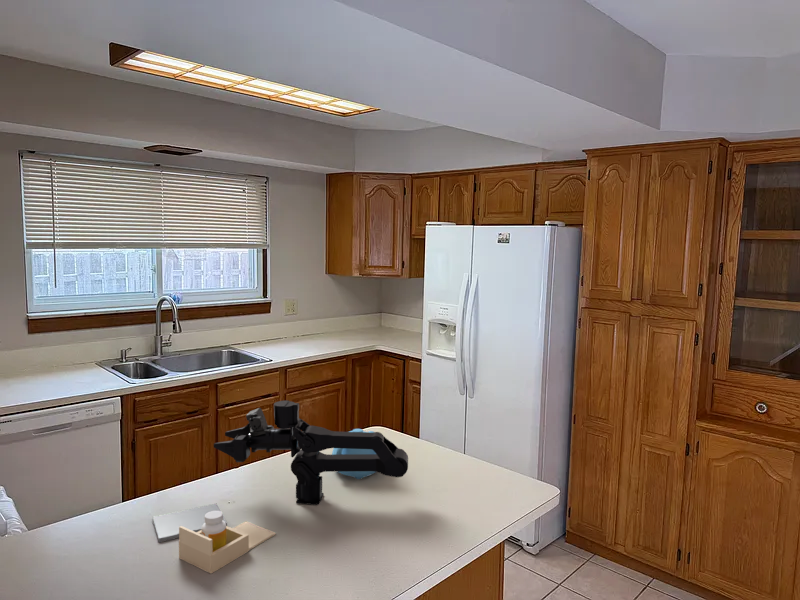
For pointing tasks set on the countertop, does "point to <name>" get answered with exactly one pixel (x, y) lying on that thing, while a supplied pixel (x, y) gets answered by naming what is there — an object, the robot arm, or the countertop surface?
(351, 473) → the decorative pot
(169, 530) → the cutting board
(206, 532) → the supplement bottle
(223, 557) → the carton
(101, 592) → the countertop surface
